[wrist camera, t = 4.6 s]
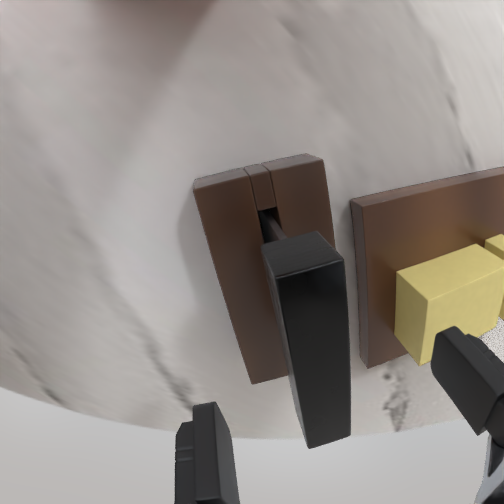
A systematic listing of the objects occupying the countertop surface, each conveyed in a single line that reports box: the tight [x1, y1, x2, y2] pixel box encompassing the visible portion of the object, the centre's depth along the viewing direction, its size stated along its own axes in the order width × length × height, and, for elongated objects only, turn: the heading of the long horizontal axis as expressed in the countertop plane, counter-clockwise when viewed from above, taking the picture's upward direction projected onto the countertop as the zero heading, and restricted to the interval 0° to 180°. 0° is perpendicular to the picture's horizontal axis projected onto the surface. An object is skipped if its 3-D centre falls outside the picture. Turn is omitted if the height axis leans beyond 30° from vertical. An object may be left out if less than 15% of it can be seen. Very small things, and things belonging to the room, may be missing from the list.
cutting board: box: [350, 167, 504, 369], centre depth 20 cm, size 16×12×2 cm
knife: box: [259, 209, 351, 449], centre depth 14 cm, size 2×9×9 cm, turn 12°
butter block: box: [394, 244, 504, 366], centre depth 18 cm, size 7×5×4 cm
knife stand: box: [193, 154, 336, 384], centre depth 17 cm, size 6×12×2 cm, turn 12°
